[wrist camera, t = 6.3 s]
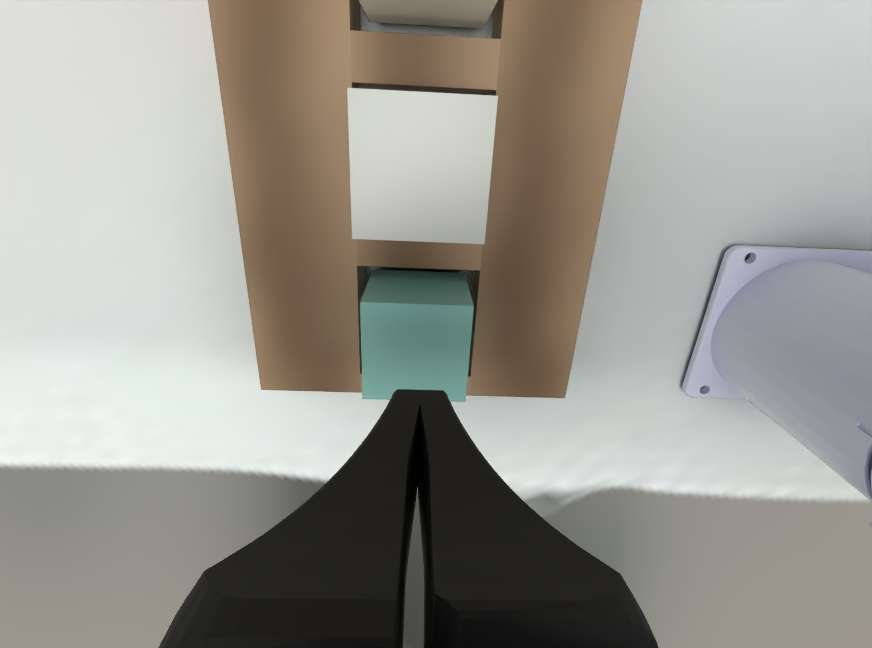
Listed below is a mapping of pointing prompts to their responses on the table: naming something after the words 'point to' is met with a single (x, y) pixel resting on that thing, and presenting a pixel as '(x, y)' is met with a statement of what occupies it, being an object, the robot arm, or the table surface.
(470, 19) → the ivory key
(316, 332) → the walnut keypad frame
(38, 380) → the table surface
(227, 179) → the table surface
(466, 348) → the teal key
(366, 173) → the grey key
